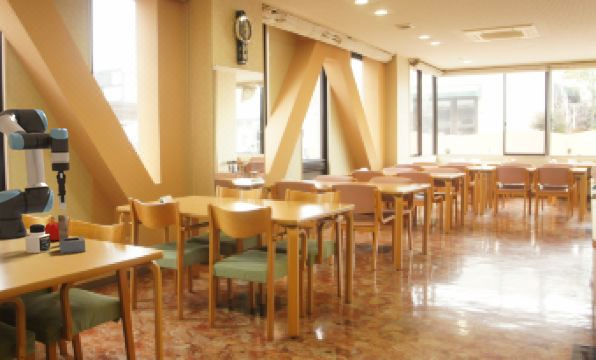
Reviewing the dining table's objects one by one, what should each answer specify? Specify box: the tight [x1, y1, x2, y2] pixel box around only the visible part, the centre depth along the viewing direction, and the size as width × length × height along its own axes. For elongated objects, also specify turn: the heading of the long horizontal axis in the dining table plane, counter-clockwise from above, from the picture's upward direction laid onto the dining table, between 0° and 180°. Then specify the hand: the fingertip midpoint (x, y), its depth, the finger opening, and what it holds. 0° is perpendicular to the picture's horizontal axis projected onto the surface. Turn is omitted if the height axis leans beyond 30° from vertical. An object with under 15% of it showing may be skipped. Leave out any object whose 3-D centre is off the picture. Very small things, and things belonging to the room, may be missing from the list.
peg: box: [57, 214, 69, 245], centre depth 254 cm, size 4×4×14 cm
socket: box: [58, 236, 86, 255], centre depth 242 cm, size 10×10×5 cm
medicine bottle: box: [24, 223, 51, 254], centre depth 241 cm, size 7×7×12 cm
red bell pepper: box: [44, 221, 59, 241], centre depth 267 cm, size 11×11×9 cm
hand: (62, 208), depth 253 cm, fingers open, 13 cm apart
